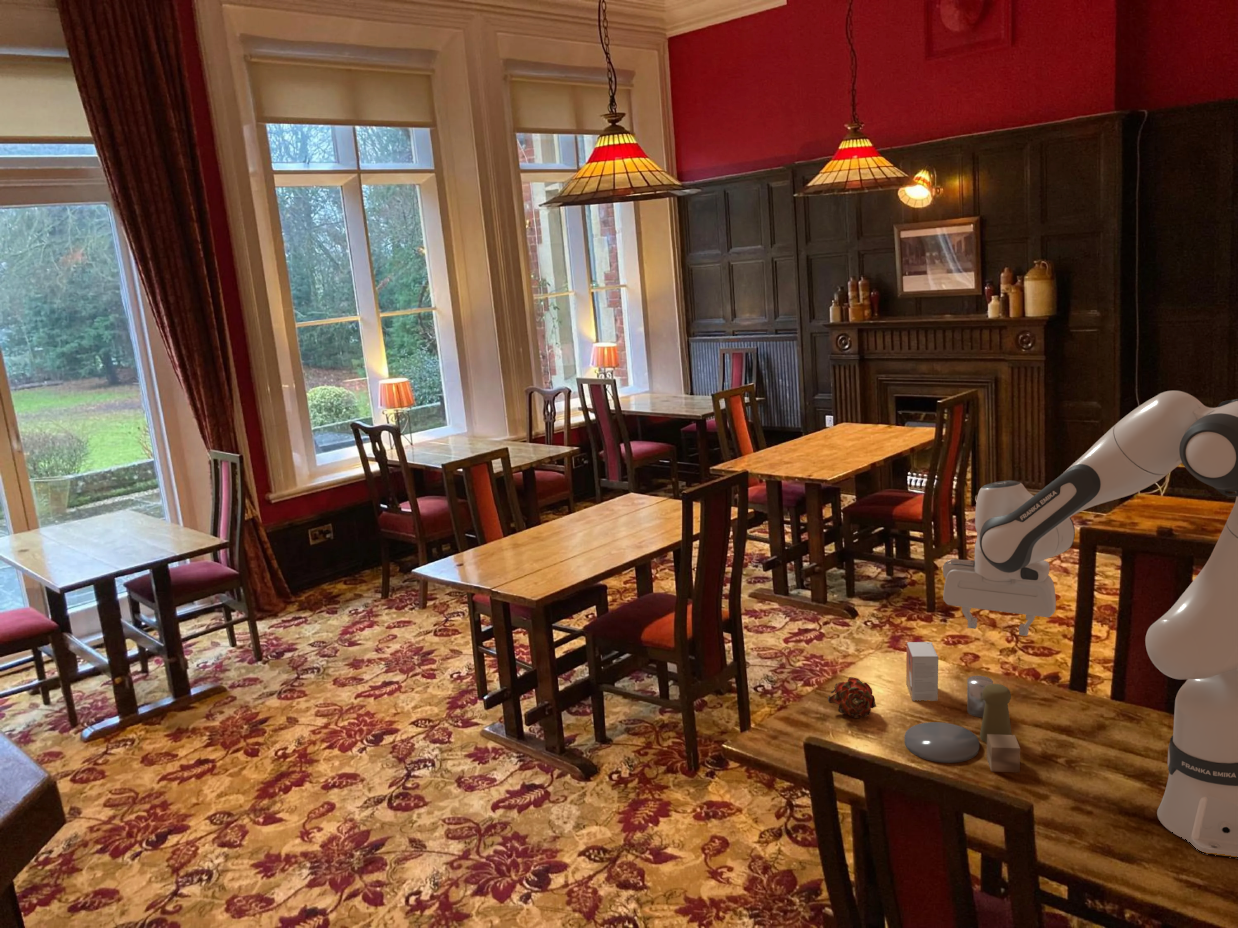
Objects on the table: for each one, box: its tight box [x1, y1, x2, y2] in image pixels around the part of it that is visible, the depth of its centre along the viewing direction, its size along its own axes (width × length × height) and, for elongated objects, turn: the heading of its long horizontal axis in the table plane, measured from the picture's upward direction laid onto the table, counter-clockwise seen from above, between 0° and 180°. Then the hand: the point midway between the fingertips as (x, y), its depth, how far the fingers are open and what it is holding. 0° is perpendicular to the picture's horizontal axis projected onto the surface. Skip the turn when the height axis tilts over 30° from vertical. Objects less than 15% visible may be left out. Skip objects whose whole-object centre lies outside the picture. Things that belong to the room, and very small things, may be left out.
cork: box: [979, 683, 1013, 744], centre depth 192 cm, size 6×6×11 cm
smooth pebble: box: [904, 721, 980, 764], centre depth 192 cm, size 14×14×1 cm
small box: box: [905, 641, 939, 702], centre depth 213 cm, size 8×6×10 cm
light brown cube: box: [986, 734, 1021, 773], centre depth 183 cm, size 5×5×5 cm
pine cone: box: [827, 676, 877, 719], centre depth 206 cm, size 8×8×12 cm
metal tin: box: [966, 675, 994, 718], centre depth 203 cm, size 5×5×7 cm
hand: (997, 630), depth 188 cm, fingers open, 8 cm apart
